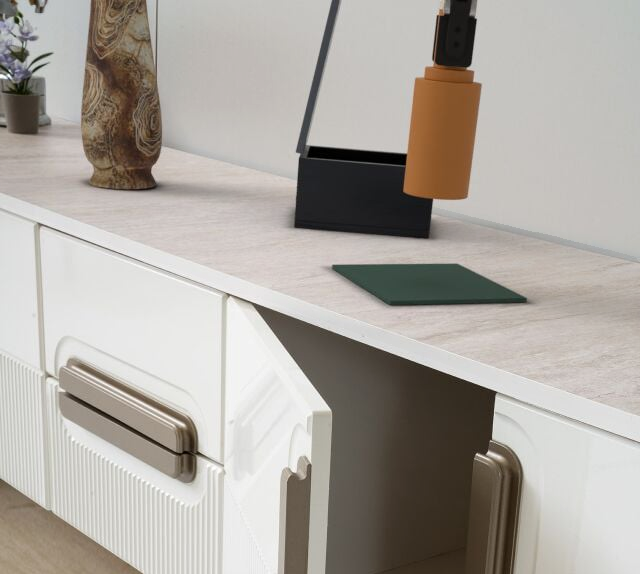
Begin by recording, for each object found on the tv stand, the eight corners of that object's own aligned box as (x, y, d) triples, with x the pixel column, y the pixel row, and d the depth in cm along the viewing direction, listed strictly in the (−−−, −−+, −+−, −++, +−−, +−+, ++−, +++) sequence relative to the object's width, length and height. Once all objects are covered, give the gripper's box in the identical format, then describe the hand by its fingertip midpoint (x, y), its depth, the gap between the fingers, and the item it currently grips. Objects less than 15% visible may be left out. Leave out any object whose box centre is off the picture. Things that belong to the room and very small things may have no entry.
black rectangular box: (423, 219, 141) (430, 155, 138) (428, 238, 130) (436, 169, 127) (299, 208, 141) (303, 144, 138) (294, 227, 130) (298, 157, 127)
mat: (456, 267, 116) (457, 263, 116) (526, 302, 105) (527, 297, 104) (331, 268, 111) (332, 264, 111) (390, 305, 100) (390, 300, 99)
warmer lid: (341, 0, 132) (334, -2, 132) (340, 0, 120) (332, -3, 120) (307, 141, 138) (300, 139, 138) (302, 154, 126) (295, 152, 126)
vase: (170, 191, 146) (175, -65, 134) (88, 190, 142) (86, -73, 130) (149, 178, 154) (153, -63, 143) (71, 177, 150) (68, -72, 139)
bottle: (449, 189, 108) (471, -1, 102) (479, 200, 103) (505, 2, 96) (392, 188, 106) (412, -6, 99) (420, 199, 101) (442, -4, 94)
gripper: (537, -183, 85) (503, 74, 93) (511, -155, 100) (483, 64, 108) (439, -191, 85) (412, 66, 93) (427, -162, 100) (405, 57, 108)
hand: (451, 62), depth 100 cm, fingers closed on bottle, 3 cm apart
